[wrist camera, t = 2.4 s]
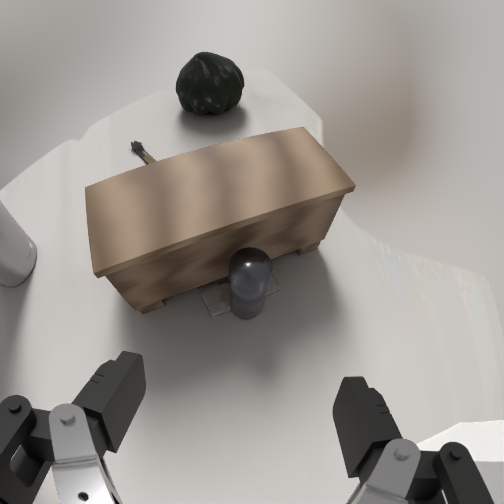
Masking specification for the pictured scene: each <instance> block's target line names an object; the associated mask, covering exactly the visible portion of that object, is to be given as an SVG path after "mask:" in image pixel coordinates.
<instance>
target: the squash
mask: <svg viewBox="0 0 504 504" xmlns="http://www.w3.org/2000/svg"><path fill="white" fill-rule="evenodd" d="M243 87H244V78H243V75H242V72H241V70H240V69H239V68H238V67H237V66H236V65H235V63H234V62H233V61H231V60H230V59H228V58H225V57H222V56H220V55H217V54H213V53H209V52H201V53H198V54H196V55H195V56H194V57H193V58H192V59H191V60H190V61H189V62H188V63H187V64H186V65H185V66H184V67H183V68H182V69H181V71H180V74H179V77H178V79H177V82H176V92H177V95H178V96H179V101H180V103H181V106H182V107H183V108H184V109H185V110H187V111H195V112H196V113H197V114H199V115H202V114H206V113H208V112H209V110H210V111H211V112H213V113H214V114H220V113H222V112H223V111H224V110H225V109H231V108H233V107H235V106H236V105H237V104H238V102H239V101H240V98H241V95H242V89H243Z"/></svg>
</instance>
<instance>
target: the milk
mask: <svg viewBox="0 0 504 504" xmlns="http://www.w3.org/2000/svg"><path fill="white" fill-rule="evenodd" d="M448 442H458V443H461V444H463V445H464V446H465V447H466V448H467V449H468V451H469V453H470V454H471V456H472V458H473V460H474V462H475V464H476V466H477V468H478V470H479V472H480V474H481V476H482V478H483V480H484V482H485V484H486V486H487V489H488V491H489V493H490V495H491V497H492V499H493V502H494V504H504V420H497V421H485V422H467V423H458V424H456V425H454V426H452V427H451V428H449V429H447V430H445V431H443V432H441V433H439V434H437V435H435V436H433V437H431V438H429V439H427V440H424V441H422V442H420V443H418V444H416V445H417V446H418V448H419V450H422V451H439V450H440V449H441V447H442V446H443V445H444V444H446V443H448ZM442 493H443V496H444V499H445V502H446V504H448V502H447V500H446V497H445V494H444V492H443V490H442Z"/></svg>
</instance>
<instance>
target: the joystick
mask: <svg viewBox="0 0 504 504" xmlns="http://www.w3.org/2000/svg"><path fill="white" fill-rule="evenodd" d="M199 287H200V289H201V292H202V294H203V297H204V299H205V302H206V304H207V307H208V309H209V311H210V314H211V316H212V317H214V316H217V315H219V314H222V313H224V312H227V311H230V310H231V311H232V312H233V314H234V315H235V316H237V317H238V318H241V319H252V318H254V317H256V316H257V315H258V314H259V313H260V311H261V309H262V306H263V302H264V298H265V296H267V295H269V294H272V293H274V292H277V291H279V288H280V287H279V285H278V283H277V281H276V280H275V278H274V276H273V274H272V262H271V259H270V258H269V256H268V255H267V254H266V253H265V252H264V251H262V250H260V249H258V248H253V247H246V248H242V249H240V250H238V251H236V252H235V253H234V254H233V255H232V257H231V258H230V261H229V276H226V277H223V278H221V279H218V280H215V281H213V282H210V283H207V284H204V285H202V286H199Z"/></svg>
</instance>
